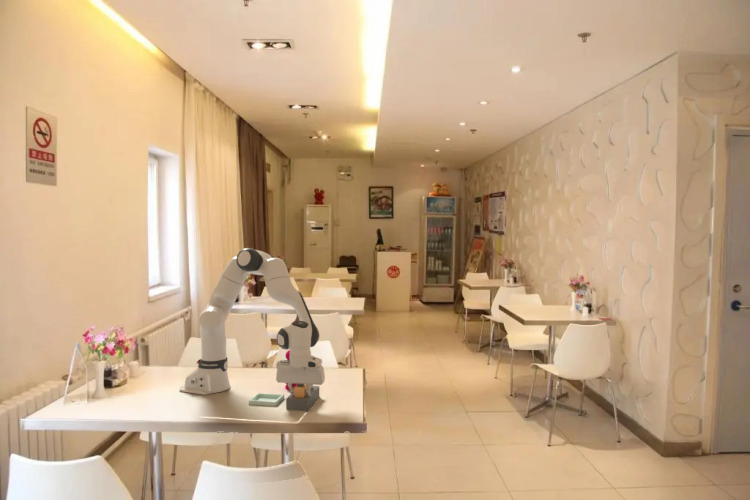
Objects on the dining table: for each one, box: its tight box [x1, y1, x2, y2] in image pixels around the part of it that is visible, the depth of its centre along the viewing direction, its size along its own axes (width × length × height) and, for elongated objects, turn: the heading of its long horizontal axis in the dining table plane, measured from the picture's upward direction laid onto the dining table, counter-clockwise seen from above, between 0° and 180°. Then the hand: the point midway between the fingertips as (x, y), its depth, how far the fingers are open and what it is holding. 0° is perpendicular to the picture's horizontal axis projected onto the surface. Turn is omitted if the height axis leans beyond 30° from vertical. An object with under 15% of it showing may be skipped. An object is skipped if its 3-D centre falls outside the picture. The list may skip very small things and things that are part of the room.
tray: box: [248, 392, 285, 407], centre depth 213 cm, size 12×10×2 cm
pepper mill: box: [285, 349, 297, 391], centre depth 231 cm, size 7×7×20 cm
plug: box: [294, 384, 307, 398], centre depth 208 cm, size 4×4×8 cm
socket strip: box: [285, 385, 320, 413], centre depth 212 cm, size 9×18×5 cm, turn 171°
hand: (300, 393), depth 208 cm, fingers open, 5 cm apart
